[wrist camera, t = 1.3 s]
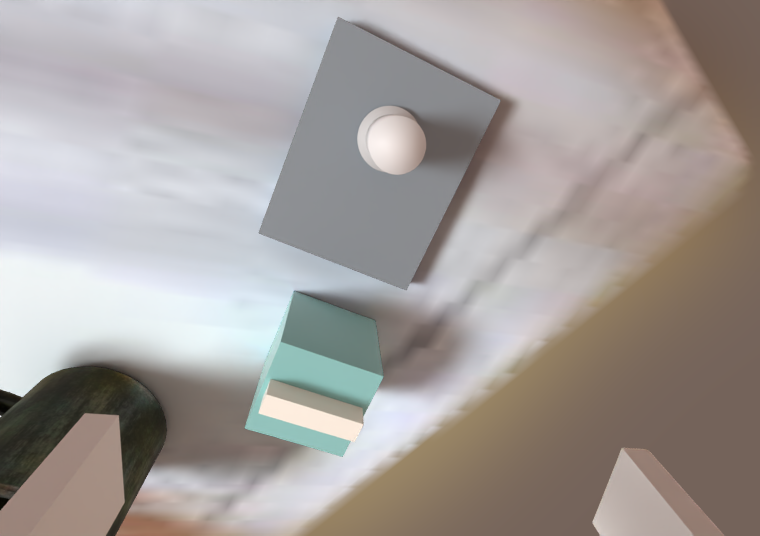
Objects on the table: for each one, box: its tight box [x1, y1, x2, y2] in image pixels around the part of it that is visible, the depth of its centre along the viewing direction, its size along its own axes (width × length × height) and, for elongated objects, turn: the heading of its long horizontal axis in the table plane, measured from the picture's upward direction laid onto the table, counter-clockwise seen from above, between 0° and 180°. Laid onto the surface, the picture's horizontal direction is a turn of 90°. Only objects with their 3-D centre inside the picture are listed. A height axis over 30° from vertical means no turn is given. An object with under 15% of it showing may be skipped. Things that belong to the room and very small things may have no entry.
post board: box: [259, 17, 501, 290], centre depth 27 cm, size 11×14×6 cm
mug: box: [0, 367, 167, 536], centre depth 29 cm, size 11×15×12 cm
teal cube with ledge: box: [245, 291, 384, 457], centre depth 30 cm, size 7×7×9 cm
